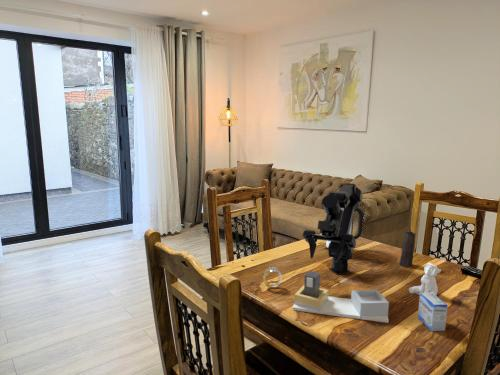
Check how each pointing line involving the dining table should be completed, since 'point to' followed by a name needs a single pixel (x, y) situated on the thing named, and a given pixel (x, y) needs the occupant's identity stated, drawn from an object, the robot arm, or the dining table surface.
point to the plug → (312, 284)
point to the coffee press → (352, 226)
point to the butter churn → (408, 246)
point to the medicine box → (432, 311)
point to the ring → (270, 272)
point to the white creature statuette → (427, 281)
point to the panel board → (340, 310)
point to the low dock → (311, 299)
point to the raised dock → (369, 303)
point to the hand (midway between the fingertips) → (323, 259)
